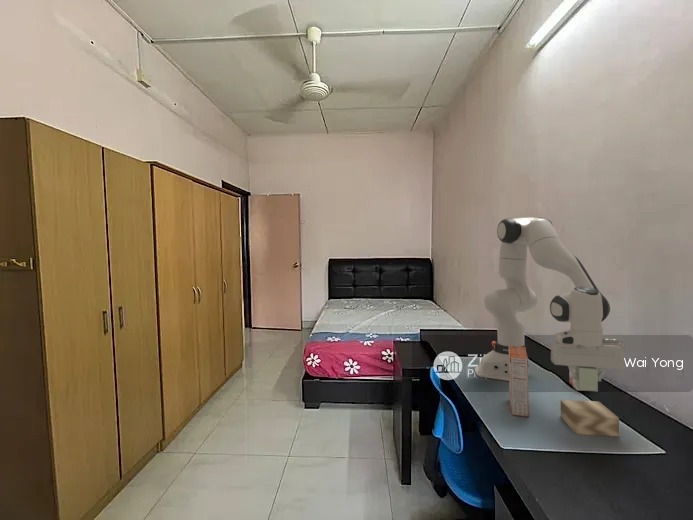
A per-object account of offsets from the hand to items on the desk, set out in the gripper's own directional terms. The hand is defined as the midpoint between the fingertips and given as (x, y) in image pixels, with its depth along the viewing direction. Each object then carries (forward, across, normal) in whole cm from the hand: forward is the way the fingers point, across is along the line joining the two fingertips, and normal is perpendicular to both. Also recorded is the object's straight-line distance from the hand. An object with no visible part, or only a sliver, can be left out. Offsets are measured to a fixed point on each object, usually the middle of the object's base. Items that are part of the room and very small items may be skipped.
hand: (586, 379), depth 121 cm
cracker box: (+15, +20, -7) cm, 26 cm away
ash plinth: (+15, 0, 0) cm, 15 cm away
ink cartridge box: (+15, -6, -35) cm, 39 cm away
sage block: (+3, 0, 0) cm, 3 cm away
